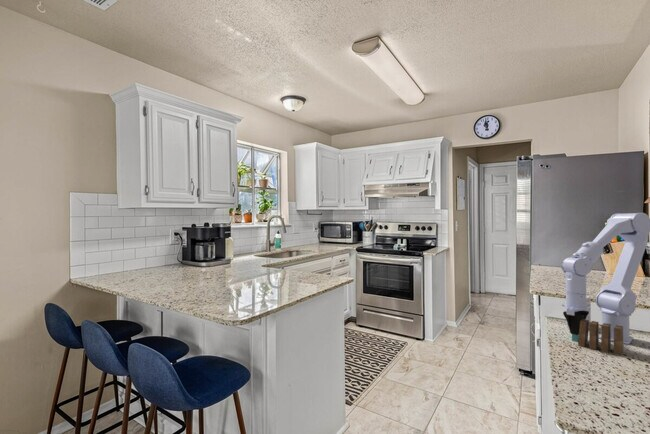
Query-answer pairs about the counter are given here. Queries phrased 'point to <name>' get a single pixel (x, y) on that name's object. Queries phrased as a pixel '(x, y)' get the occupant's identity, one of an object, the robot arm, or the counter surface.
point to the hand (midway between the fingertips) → (576, 332)
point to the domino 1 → (575, 337)
